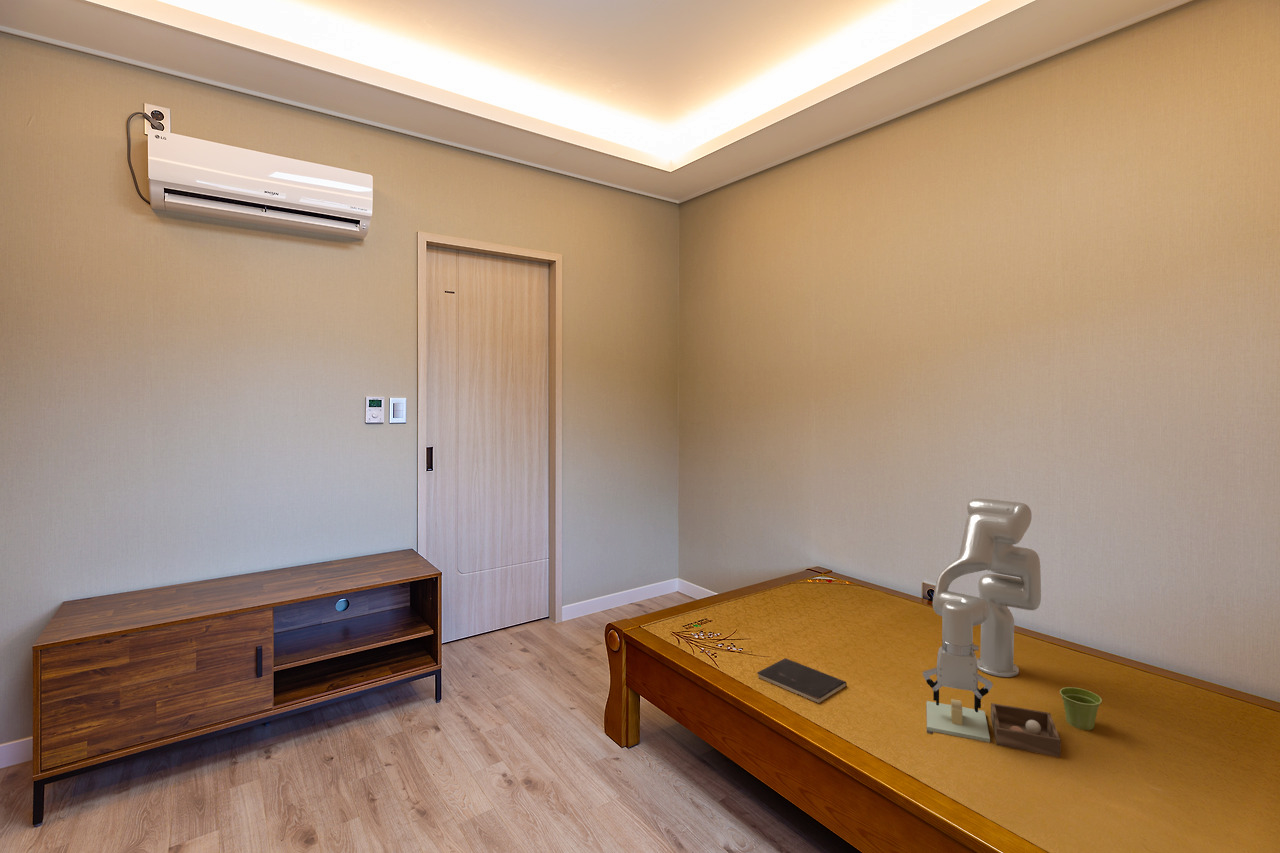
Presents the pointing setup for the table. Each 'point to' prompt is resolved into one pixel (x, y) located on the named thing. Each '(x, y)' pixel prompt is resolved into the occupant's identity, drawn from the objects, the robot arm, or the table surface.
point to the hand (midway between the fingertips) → (956, 706)
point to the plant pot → (1080, 707)
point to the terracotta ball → (1016, 728)
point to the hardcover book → (802, 680)
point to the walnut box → (1015, 716)
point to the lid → (957, 720)
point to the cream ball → (1033, 727)
